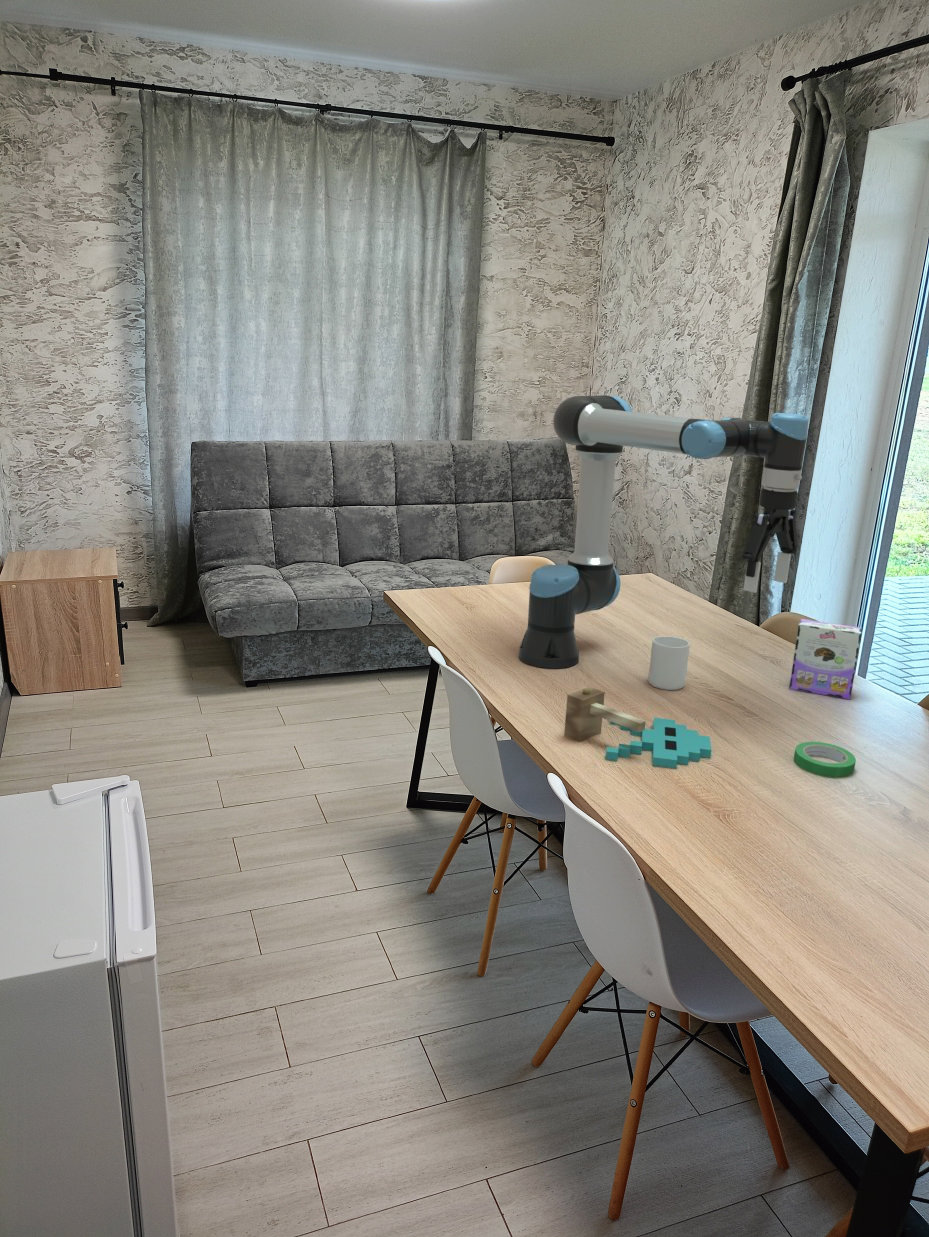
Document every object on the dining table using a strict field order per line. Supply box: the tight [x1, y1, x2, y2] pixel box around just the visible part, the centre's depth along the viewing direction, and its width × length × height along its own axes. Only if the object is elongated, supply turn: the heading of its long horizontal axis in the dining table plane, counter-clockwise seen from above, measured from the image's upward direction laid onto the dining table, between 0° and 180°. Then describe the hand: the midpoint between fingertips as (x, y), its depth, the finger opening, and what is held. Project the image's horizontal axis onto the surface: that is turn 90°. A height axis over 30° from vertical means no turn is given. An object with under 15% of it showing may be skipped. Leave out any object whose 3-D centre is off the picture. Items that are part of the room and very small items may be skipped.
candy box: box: [788, 618, 863, 700], centre depth 213 cm, size 14×6×16 cm, turn 65°
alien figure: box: [605, 717, 712, 769], centre depth 182 cm, size 20×2×20 cm
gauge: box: [563, 686, 647, 743], centre depth 180 cm, size 16×7×10 cm, turn 44°
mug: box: [648, 635, 691, 691], centre depth 215 cm, size 9×12×11 cm
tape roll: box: [793, 741, 857, 779], centre depth 176 cm, size 11×11×3 cm
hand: (765, 586), depth 196 cm, fingers open, 13 cm apart
